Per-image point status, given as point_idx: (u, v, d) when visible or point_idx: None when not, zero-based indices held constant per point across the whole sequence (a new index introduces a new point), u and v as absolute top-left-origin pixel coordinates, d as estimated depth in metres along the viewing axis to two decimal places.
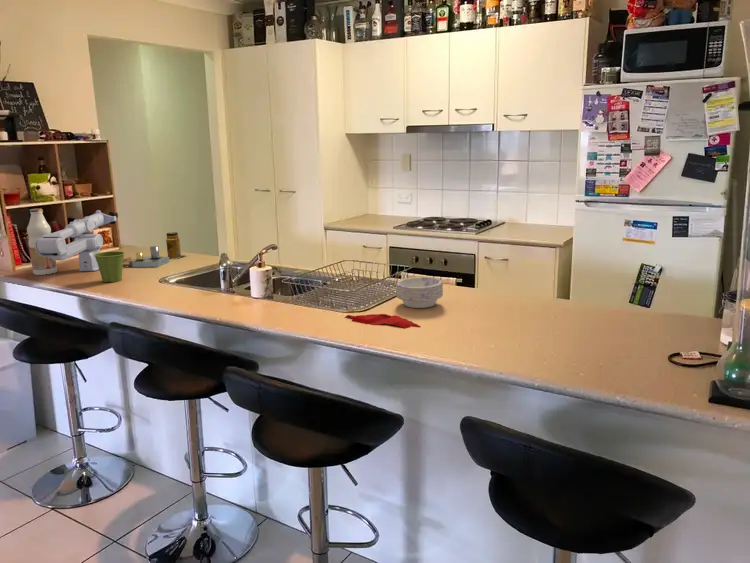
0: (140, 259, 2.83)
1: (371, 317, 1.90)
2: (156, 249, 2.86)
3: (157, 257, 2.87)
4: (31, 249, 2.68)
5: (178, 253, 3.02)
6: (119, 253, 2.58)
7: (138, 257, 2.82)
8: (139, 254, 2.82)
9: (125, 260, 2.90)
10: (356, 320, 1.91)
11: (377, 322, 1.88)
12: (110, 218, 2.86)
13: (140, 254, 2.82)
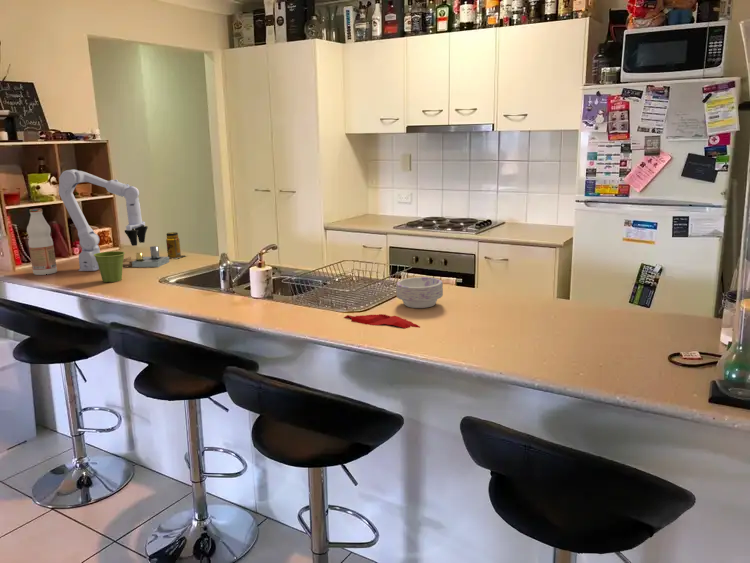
0: (140, 259, 2.83)
1: (370, 317, 1.90)
2: (156, 249, 2.86)
3: (157, 257, 2.87)
4: (31, 249, 2.68)
5: (178, 253, 3.02)
6: (119, 253, 2.58)
7: (138, 257, 2.82)
8: (139, 254, 2.82)
9: (125, 260, 2.90)
10: (355, 320, 1.90)
11: (376, 322, 1.88)
12: (130, 226, 2.75)
13: (140, 254, 2.82)
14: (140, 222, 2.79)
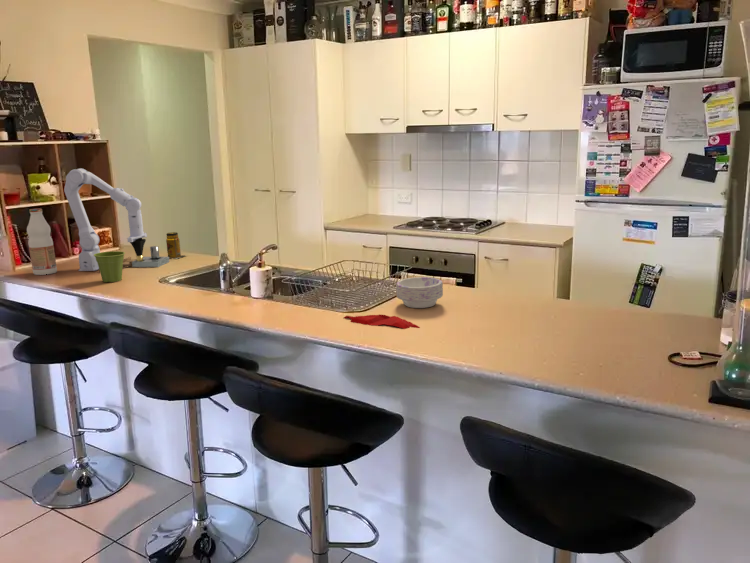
0: None
1: (370, 318, 1.90)
2: (156, 249, 2.86)
3: (157, 257, 2.87)
4: (31, 249, 2.68)
5: (178, 253, 3.02)
6: (119, 253, 2.58)
7: (138, 259, 2.83)
8: (139, 256, 2.82)
9: (125, 260, 2.90)
10: (355, 321, 1.90)
11: (376, 323, 1.88)
12: None
13: (140, 256, 2.83)
14: (141, 234, 2.80)
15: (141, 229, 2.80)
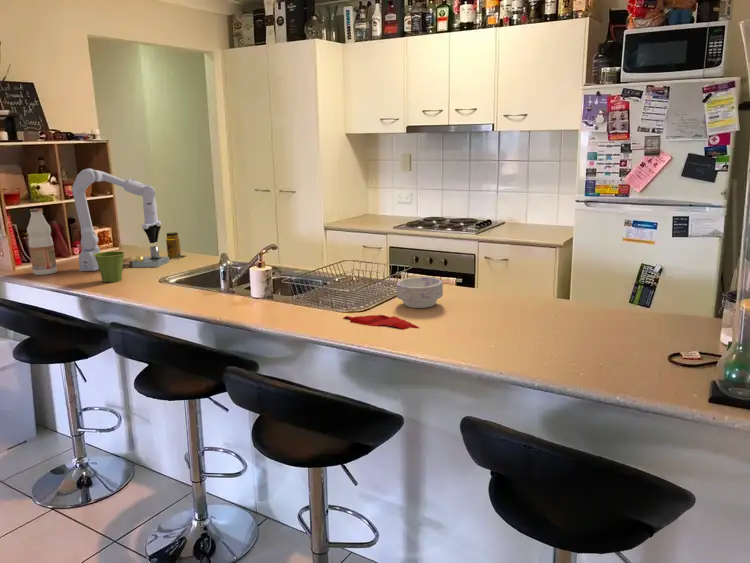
0: None
1: (369, 318, 1.89)
2: (156, 249, 2.86)
3: (157, 257, 2.87)
4: (31, 249, 2.68)
5: (178, 253, 3.02)
6: (119, 253, 2.58)
7: None
8: (139, 258, 2.83)
9: (125, 260, 2.90)
10: (354, 321, 1.90)
11: (375, 323, 1.87)
12: None
13: (140, 258, 2.83)
14: (156, 221, 2.83)
15: (155, 216, 2.83)
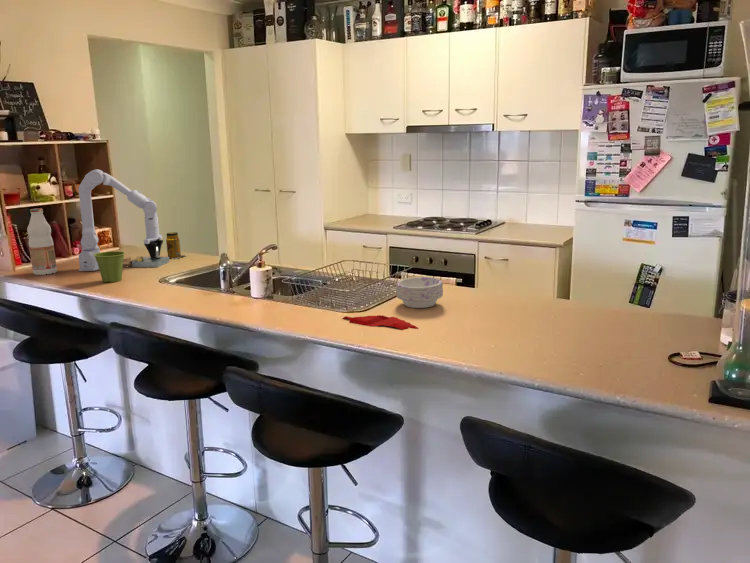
0: None
1: (369, 318, 1.89)
2: (156, 249, 2.86)
3: (157, 257, 2.87)
4: (31, 249, 2.68)
5: (178, 253, 3.02)
6: (119, 253, 2.58)
7: None
8: (139, 258, 2.83)
9: (125, 260, 2.90)
10: (353, 322, 1.89)
11: (375, 324, 1.87)
12: None
13: (140, 258, 2.83)
14: (157, 236, 2.85)
15: (157, 231, 2.85)
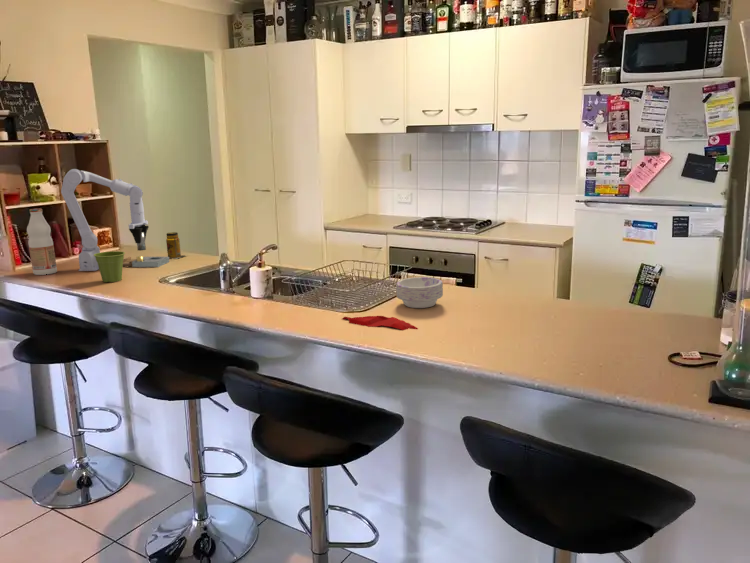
0: None
1: (368, 319, 1.89)
2: (141, 235, 2.85)
3: (143, 243, 2.86)
4: (31, 249, 2.68)
5: (178, 253, 3.02)
6: (119, 253, 2.58)
7: None
8: (139, 258, 2.83)
9: (125, 260, 2.90)
10: (353, 322, 1.89)
11: (374, 324, 1.87)
12: None
13: (140, 258, 2.83)
14: (143, 221, 2.84)
15: (142, 216, 2.83)
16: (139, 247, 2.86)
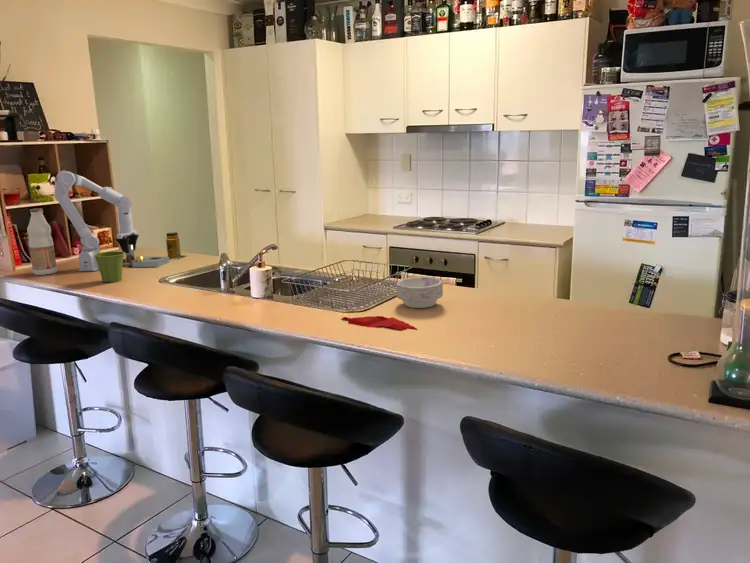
0: None
1: (367, 319, 1.88)
2: (130, 247, 2.87)
3: (132, 255, 2.88)
4: (31, 249, 2.68)
5: (178, 253, 3.02)
6: (119, 253, 2.58)
7: None
8: (139, 258, 2.83)
9: (125, 260, 2.90)
10: (352, 322, 1.88)
11: (373, 324, 1.86)
12: None
13: (140, 258, 2.83)
14: (131, 231, 2.85)
15: (131, 226, 2.85)
16: (128, 259, 2.87)
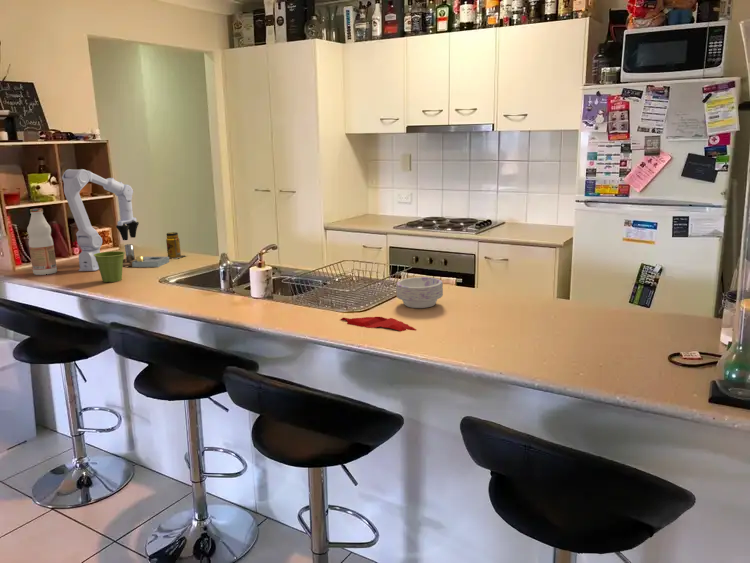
0: None
1: (366, 320, 1.88)
2: (130, 247, 2.87)
3: (132, 255, 2.88)
4: (31, 249, 2.68)
5: (178, 253, 3.02)
6: (119, 253, 2.58)
7: None
8: (139, 258, 2.83)
9: (125, 260, 2.90)
10: (351, 323, 1.88)
11: (372, 325, 1.86)
12: None
13: (140, 258, 2.83)
14: (131, 218, 2.94)
15: (131, 213, 2.94)
16: (128, 259, 2.87)
